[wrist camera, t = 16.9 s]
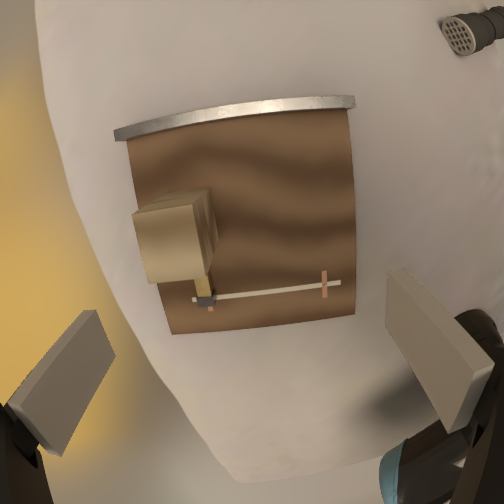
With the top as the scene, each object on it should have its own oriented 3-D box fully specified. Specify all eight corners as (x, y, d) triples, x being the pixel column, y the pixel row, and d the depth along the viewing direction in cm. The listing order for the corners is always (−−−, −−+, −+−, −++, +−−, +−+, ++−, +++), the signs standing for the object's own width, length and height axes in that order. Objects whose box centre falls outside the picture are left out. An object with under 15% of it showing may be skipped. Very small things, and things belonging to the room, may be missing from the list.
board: (353, 311, 38) (361, 326, 34) (173, 331, 39) (166, 348, 35) (343, 100, 29) (354, 95, 25) (127, 130, 30) (113, 130, 26)
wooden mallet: (229, 297, 36) (221, 348, 27) (188, 301, 36) (170, 351, 27) (210, 186, 32) (192, 204, 22) (165, 193, 32) (131, 214, 22)
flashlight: (490, 8, 21) (510, 1, 16) (507, 38, 23) (528, 33, 18) (435, 23, 24) (457, 12, 19) (456, 58, 26) (480, 51, 21)
